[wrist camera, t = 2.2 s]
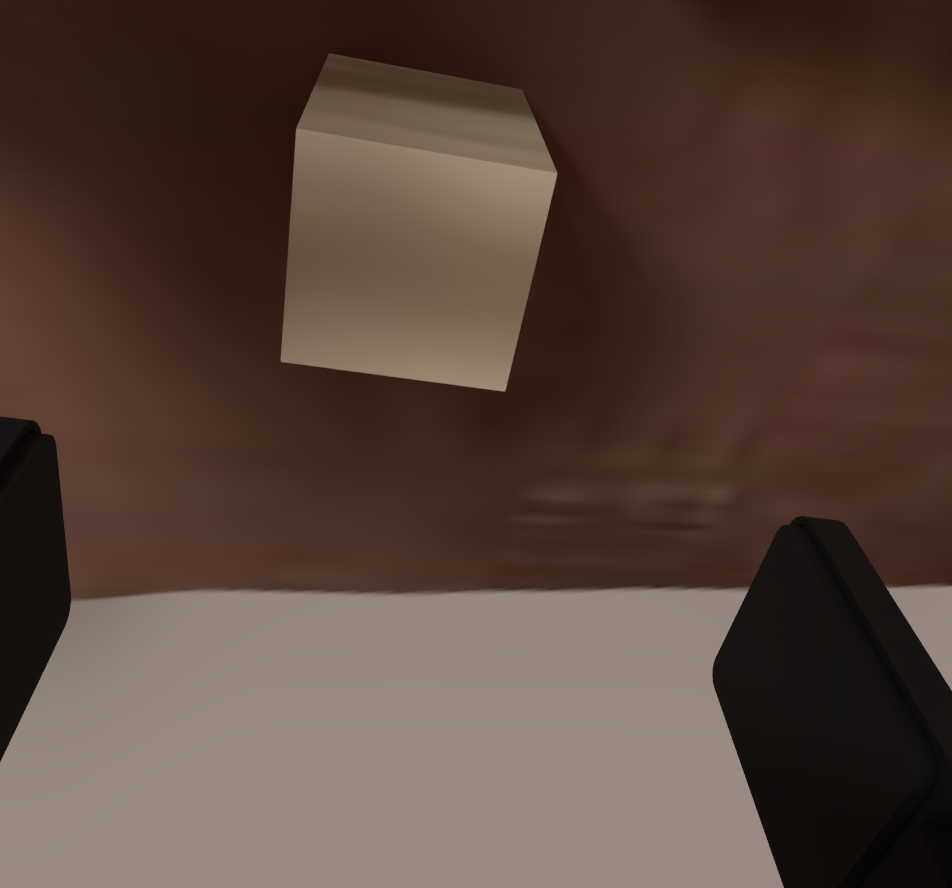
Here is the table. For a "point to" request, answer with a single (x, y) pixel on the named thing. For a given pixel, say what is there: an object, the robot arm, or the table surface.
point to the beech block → (413, 224)
